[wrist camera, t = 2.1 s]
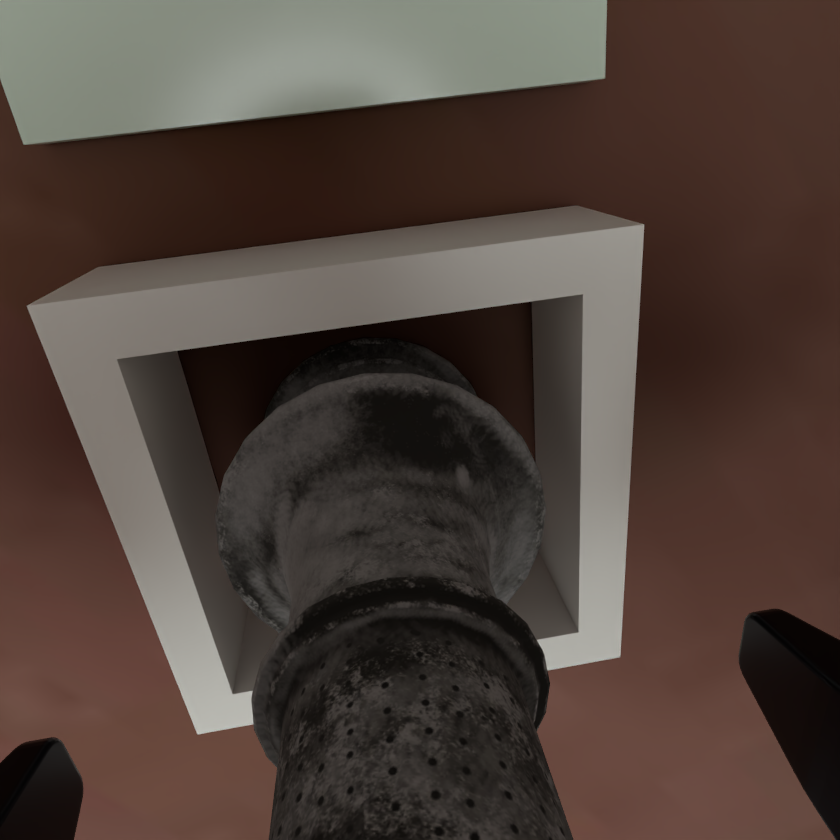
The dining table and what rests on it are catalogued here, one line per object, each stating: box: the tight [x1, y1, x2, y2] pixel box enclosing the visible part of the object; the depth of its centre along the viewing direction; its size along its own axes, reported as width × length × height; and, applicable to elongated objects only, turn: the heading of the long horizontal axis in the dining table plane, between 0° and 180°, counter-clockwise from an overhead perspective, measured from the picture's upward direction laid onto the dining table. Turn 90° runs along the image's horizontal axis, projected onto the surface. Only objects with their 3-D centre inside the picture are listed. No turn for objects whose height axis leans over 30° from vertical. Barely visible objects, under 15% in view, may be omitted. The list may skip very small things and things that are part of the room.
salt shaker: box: [215, 338, 573, 840], centre depth 8 cm, size 6×6×12 cm
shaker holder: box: [27, 205, 644, 734], centre depth 13 cm, size 10×10×3 cm
